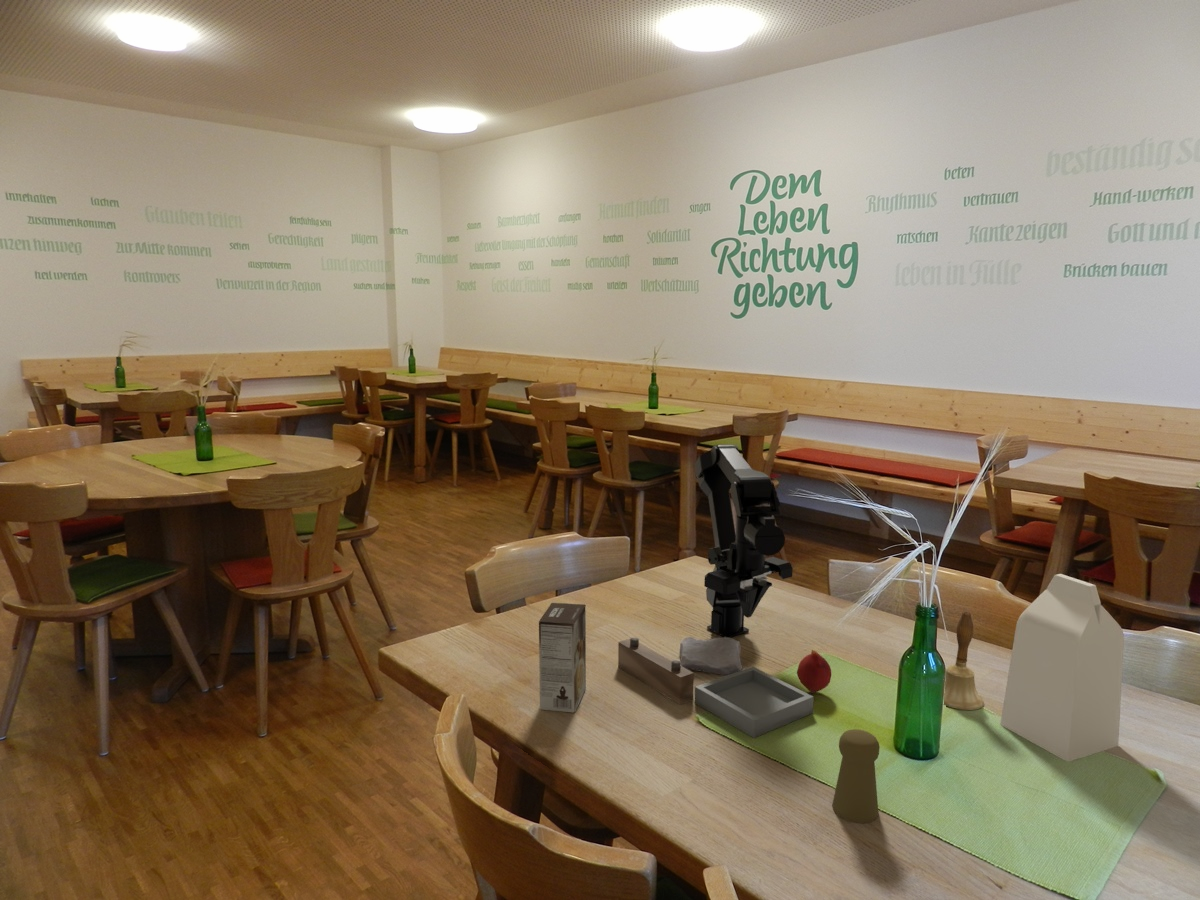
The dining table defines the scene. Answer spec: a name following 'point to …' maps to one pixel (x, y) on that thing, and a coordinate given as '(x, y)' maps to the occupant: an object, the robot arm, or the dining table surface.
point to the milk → (1066, 672)
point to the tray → (753, 701)
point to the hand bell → (962, 672)
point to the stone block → (711, 655)
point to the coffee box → (562, 657)
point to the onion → (814, 672)
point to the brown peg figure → (857, 777)
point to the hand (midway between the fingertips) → (747, 616)
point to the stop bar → (656, 670)
